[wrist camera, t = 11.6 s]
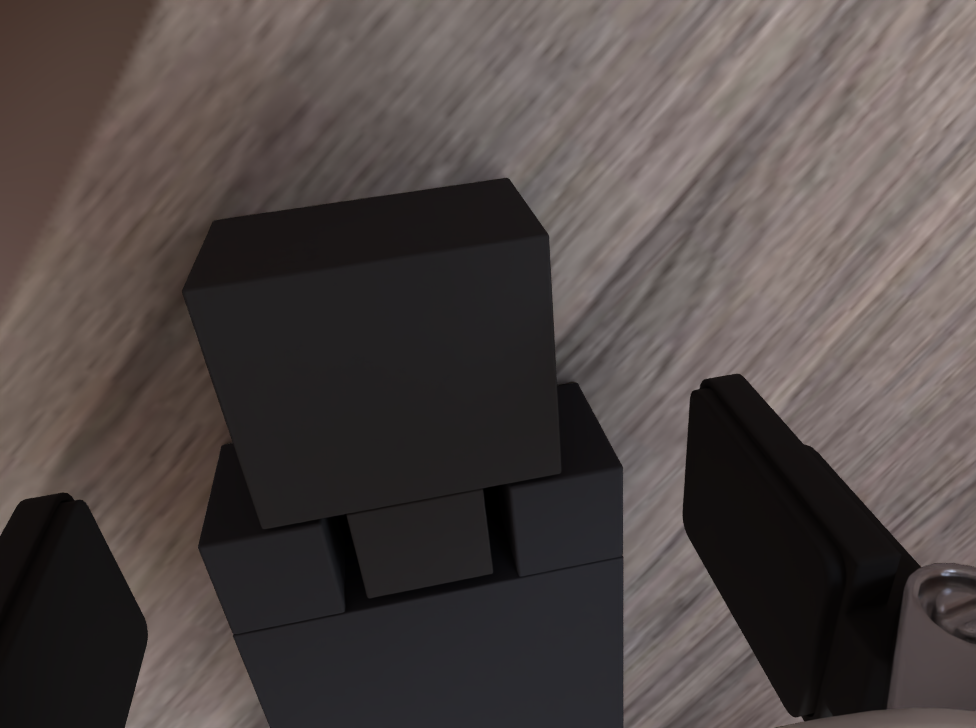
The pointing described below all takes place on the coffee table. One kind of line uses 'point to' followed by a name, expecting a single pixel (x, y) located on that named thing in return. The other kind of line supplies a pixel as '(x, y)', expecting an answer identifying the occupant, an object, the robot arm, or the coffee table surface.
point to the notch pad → (437, 607)
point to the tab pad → (385, 368)
